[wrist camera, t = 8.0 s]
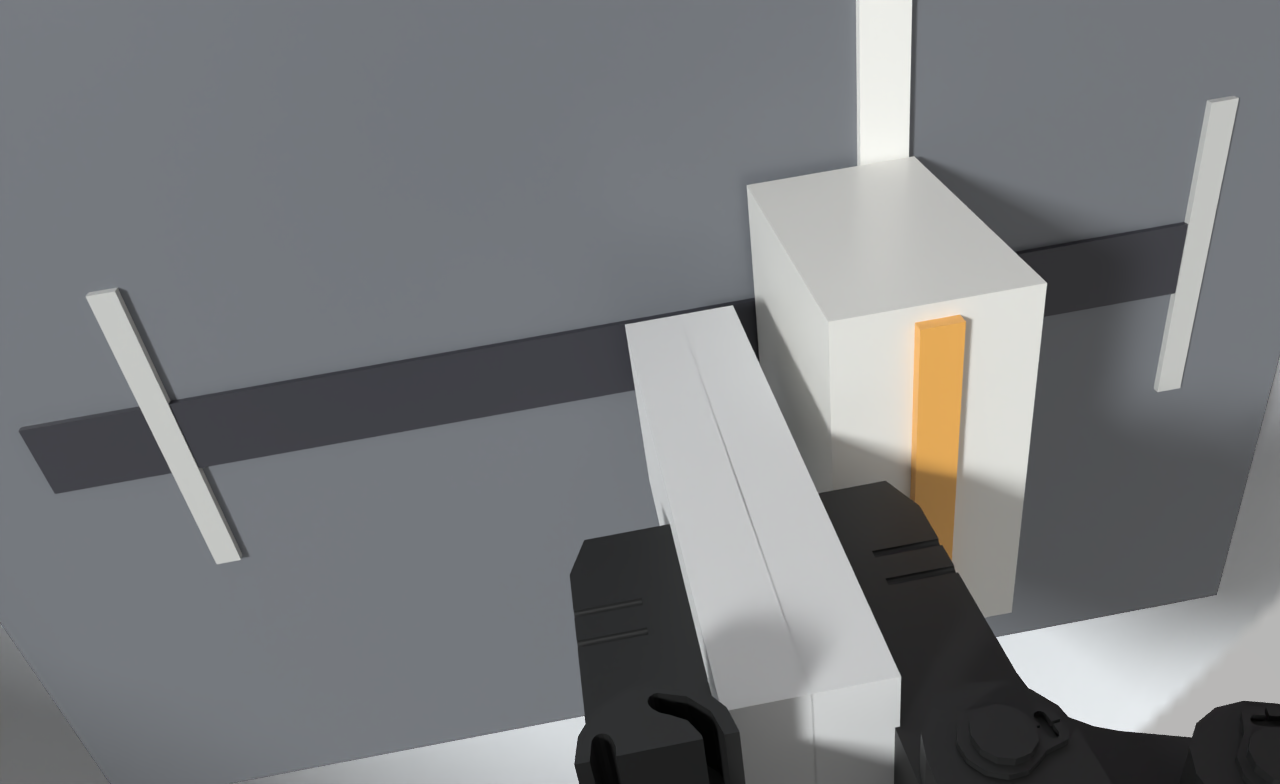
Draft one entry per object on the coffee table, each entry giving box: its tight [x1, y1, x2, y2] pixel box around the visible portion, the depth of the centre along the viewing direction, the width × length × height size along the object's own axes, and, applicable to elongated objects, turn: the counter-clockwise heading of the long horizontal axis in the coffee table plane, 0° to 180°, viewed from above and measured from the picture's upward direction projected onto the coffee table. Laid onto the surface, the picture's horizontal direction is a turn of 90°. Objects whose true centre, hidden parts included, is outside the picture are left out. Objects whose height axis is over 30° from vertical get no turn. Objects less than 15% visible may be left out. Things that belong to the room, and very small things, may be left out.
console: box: [0, 0, 1280, 784], centre depth 16 cm, size 22×16×2 cm
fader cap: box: [747, 156, 1047, 618], centre depth 14 cm, size 2×5×4 cm, turn 8°
